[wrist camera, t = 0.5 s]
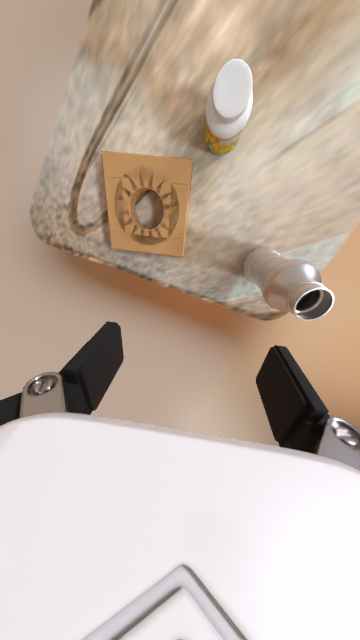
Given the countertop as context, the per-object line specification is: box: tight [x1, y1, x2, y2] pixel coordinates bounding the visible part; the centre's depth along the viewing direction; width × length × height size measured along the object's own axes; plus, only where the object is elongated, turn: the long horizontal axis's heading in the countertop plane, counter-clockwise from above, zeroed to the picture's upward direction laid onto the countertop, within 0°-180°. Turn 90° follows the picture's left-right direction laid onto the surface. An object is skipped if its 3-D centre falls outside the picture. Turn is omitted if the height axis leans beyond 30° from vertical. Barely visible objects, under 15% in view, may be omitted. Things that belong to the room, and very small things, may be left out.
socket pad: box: [101, 151, 193, 257], centre depth 31 cm, size 14×14×3 cm
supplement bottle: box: [205, 59, 253, 155], centre depth 22 cm, size 5×5×10 cm
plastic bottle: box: [243, 247, 334, 321], centre depth 26 cm, size 6×7×20 cm
